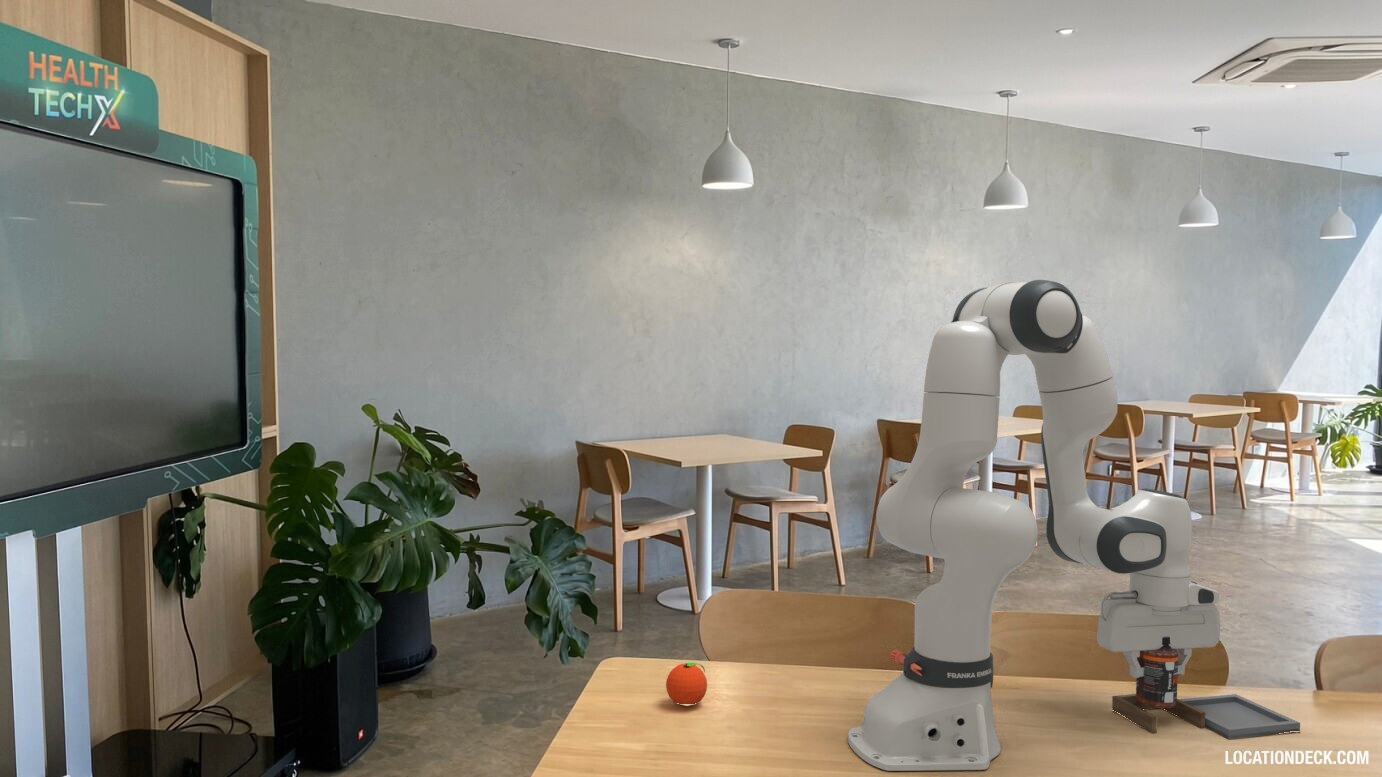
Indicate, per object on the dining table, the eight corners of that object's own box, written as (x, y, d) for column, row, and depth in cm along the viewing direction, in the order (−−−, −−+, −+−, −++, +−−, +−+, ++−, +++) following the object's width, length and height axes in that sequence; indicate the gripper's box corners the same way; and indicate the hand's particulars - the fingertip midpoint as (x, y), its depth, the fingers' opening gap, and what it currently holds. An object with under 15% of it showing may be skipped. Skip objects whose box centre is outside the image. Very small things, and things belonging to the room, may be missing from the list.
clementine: (690, 693, 166) (690, 652, 166) (720, 703, 162) (720, 661, 161) (657, 705, 161) (657, 663, 160) (686, 716, 156) (686, 673, 156)
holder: (1152, 733, 149) (1152, 717, 149) (1112, 710, 158) (1112, 696, 158) (1205, 728, 151) (1205, 712, 151) (1162, 706, 160) (1162, 691, 160)
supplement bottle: (1181, 711, 150) (1183, 640, 150) (1140, 708, 152) (1142, 637, 151) (1171, 698, 156) (1173, 629, 156) (1131, 695, 158) (1133, 627, 157)
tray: (1229, 739, 146) (1229, 729, 146) (1168, 709, 159) (1169, 700, 159) (1299, 732, 149) (1300, 722, 149) (1235, 702, 162) (1235, 694, 162)
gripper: (1114, 596, 148) (1112, 685, 149) (1228, 592, 153) (1225, 678, 153) (1089, 587, 155) (1087, 672, 155) (1199, 584, 159) (1196, 666, 159)
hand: (1157, 675), depth 154 cm, fingers closed on supplement bottle, 6 cm apart
